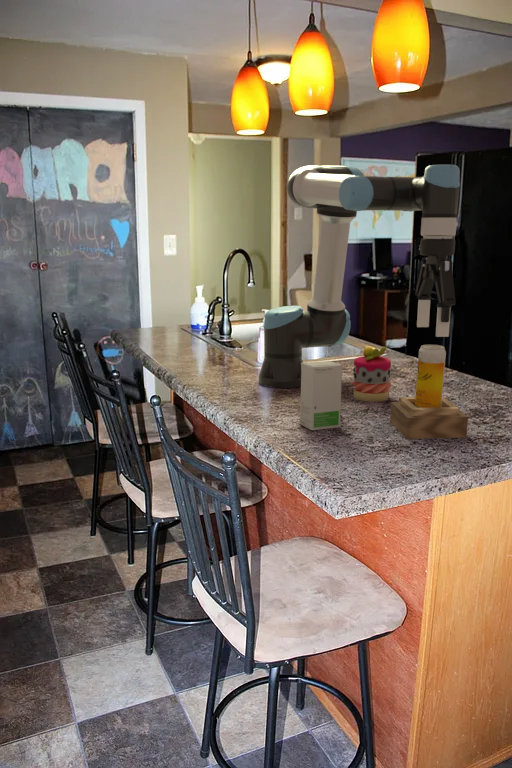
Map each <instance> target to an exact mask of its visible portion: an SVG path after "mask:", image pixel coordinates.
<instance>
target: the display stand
mask: <svg viewBox="0 0 512 768" xmlns="http://www.w3.org/2000/svg"><path fill="white" fill-rule="evenodd" d="M415 398H416V396H411V397H406V396H405V397H398V401H392V402H390V423H391V424H392V425H393V427H395V428H396V429H397V431H399V433H400V434H401V435H402V436H403V437H404V438H405V439H406V440H420V439H423V440H425V439H424V438H427V439H454V438H455V439H456V438H461V437H464V438H467V437H468V435H467V434H468V421H469V420H468V419H469V416H468V415H467V414H465V413H464V412H463V411H461V410H460V408H459V406H457V405H455V404H454V403H453V402H451V401H450V400H448V398H446V397H444V396H442V405H441V407H430V408H417V406H416V405H415ZM461 439H462V438H461Z"/></svg>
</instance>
